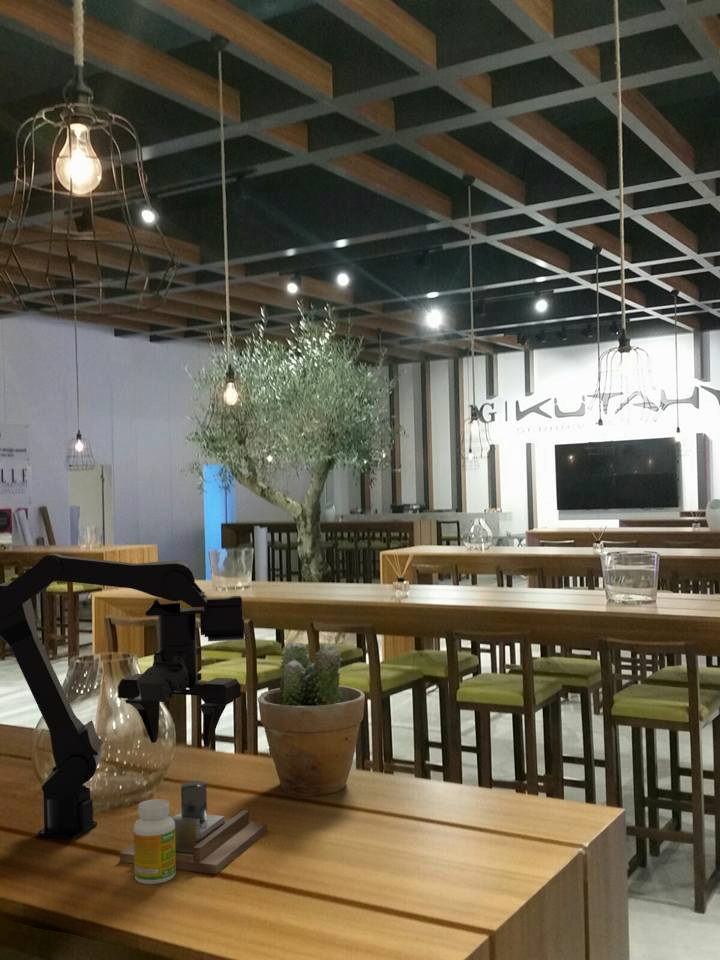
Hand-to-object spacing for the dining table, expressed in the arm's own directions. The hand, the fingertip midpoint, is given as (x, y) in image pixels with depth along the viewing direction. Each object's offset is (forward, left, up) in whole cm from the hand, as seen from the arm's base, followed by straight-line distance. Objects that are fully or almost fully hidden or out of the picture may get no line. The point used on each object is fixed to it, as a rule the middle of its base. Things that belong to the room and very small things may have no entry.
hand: (180, 744), depth 147 cm
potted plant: (+13, +22, -12) cm, 28 cm away
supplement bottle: (+7, -19, -12) cm, 24 cm away
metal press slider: (+7, -10, -10) cm, 16 cm away
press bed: (+7, -8, -12) cm, 16 cm away
